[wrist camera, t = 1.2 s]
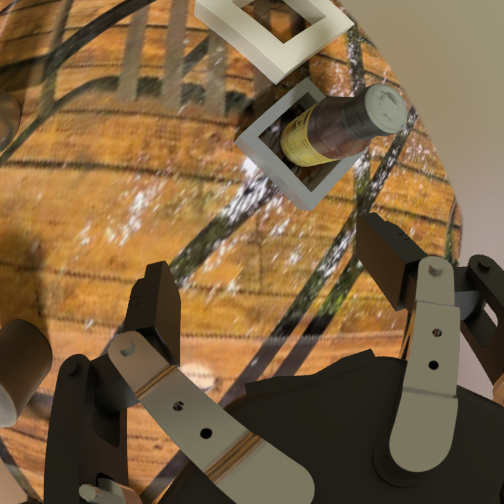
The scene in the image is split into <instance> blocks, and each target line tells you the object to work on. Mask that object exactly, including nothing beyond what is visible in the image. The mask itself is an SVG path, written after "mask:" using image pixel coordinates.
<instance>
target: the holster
mask: <svg viewBox="0 0 504 504" xmlns="http://www.w3.org/2000/svg"><path fill="white" fill-rule="evenodd" d="M324 98H327V97H326V96H325V95H324V94H323V93H322V92H321V91H320V90H319V89H318V88H317V87H316V86H315V85H314V84H313V83H312V82H311V81H310V80H309V79H308V78H307V77H306V78H305V79H304V80H302V81H301V82H300V83H299V84H298V85H296V86H295V87H294V88H293V89H292V90H290V91H289V92H288V93H287V94H286V95H284V96H283V97H282V98H281V99H280V100H279V101H277V102H276V103H275V104H274V105H273V106H272V107H271V108H269V109H268V110H267V111H266V112H265V113H264V114H263V115H262V116H260V117H259V118H258V119H257V120H256V121H255V122H254V123H253V124H252V125H250V126H249V127H248V128H247V129H246V130H245V131H244V132H243V133H242V134H241V135H240V136H239V137H238V138H237V139H236V141H235V142H234V144H235V145H236V146H237V147H238V148H239V149H240V150H241V151H242V152H243V153H244V154H245V155H246V156H247V157H248V158H249V159H250V160H251V161H252V162H253V163H254V164H255V165H256V166H257V167H258V168H259V169H260V170H261V171H262V172H263V173H264V174H265V175H266V176H267V177H268V178H269V179H270V180H271V181H272V182H273V183H274V184H275V185H276V186H277V187H278V188H279V189H280V190H281V191H282V192H283V193H284V194H285V195H286V196H287V197H288V198H289V199H290V201H291V202H292V203H293V204H294V205H295V206H296V207H297V208H298V209H299V210H309V211H312V209H313V208H314V207H315V206H316V205H317V204H318V203H319V202H320V201H321V200H322V198H323V197H324V196H325V195H326V194H327V193H328V192H329V191H330V190H331V189H332V187H333V186H334V185H335V184H336V183H337V182H338V181H339V180H340V179H341V178H342V176H343V175H344V174H345V173H346V172H347V171H348V170H349V169H350V168H351V166H352V165H353V164H354V163H355V162H356V161H357V160H358V159H359V158H360V156H361V155H362V154H363V153H364V152H365V151H366V150H367V149H368V148H369V146H367V148H366V149H365V150H364V151H363V152H361V153H358V154H357V155H354V156H348V157H346V158H344V159H340V160H335V161H331V162H328V163H327V164H326V166H325V167H324V168H323V169H322V170H321V171H320V172H319V173H318V174H317V175H316V176H315V177H314V178H313V179H312V180H311V181H310V182H309V184H308V185H307V186H305V185H304V184H303V183H302V182H301V181H300V180H299V179H298V178H297V177H296V176H295V175H294V174H293V172H292V171H291V170H290V169H289V168H288V167H287V166H286V165H285V164H284V163H283V162H282V161H281V160H280V159H279V158H278V157H277V156H276V155H275V154H274V153H273V152H272V151H271V150H270V149H269V148H268V147H267V146H266V145H265V144H264V143H263V142H262V141H261V140H260V139H259V138H258V136H259V135H260V134H261V133H262V132H263V131H264V130H265V129H266V128H268V127H269V126H270V125H271V124H272V123H273V122H274V121H275V120H276V119H277V118H278V117H280V116H281V115H282V114H283V113H284V112H285V111H286V110H287V109H288V108H290V107H291V106H292V105H293V104H294V103H295V102H296V101H297V102H298V103H299V104H300V105H301V106H302V107H303V108H304V109H305V110H308V109H309V108H311V107H312V106H314V105H315V104H316V103H318V102H319V101H321V100H322V99H324Z"/></svg>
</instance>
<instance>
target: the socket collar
mask: <svg viewBox="0 0 504 504" xmlns="http://www.w3.org/2000/svg"><path fill="white" fill-rule="evenodd" d="M253 1H255V0H196V1H195V10H194V16H195V17H196V18H197V19H199V20H200V21H201V22H203V23H204V24H205V25H207V26H208V27H209V28H210V29H212V30H213V31H214V32H216V33H217V34H218V35H219V36H221V37H222V38H223V39H224V40H225V41H227V42H228V43H229V44H230V45H232V46H233V47H234V48H235V49H236V50H237V51H239V52H240V53H241V54H242V55H243V56H244V57H246V58H247V59H248V60H249V61H250V62H251V63H252V64H254V65H255V66H256V67H257V68H258V69H259V70H260V71H261V72H262V73H263V74H265V75H266V76H267V77H268V78H269V79H270V80H271V81H272V82H273V83H274V84H275V85H277V84H278V83H279V82H280V81H281V80H283V79H284V78H285V77H286V76H288V75H289V74H290V73H291V72H293V71H294V70H295V69H297V68H298V67H299V66H300V65H302V64H303V63H304V62H306V61H307V60H308V59H310V58H311V57H312V56H314V55H315V54H316V53H318V52H319V51H321V50H322V49H323V48H325V47H326V46H327V45H329V44H330V43H332V42H333V41H335V40H336V39H337V38H339V37H340V36H342V35H343V34H344V33H345V32H346V31H347V30H349V29H350V28H351V27H352V26H353V25H354V23H353V22H352V21H351V20H350V19H349V18H348V17H347V16H346V15H345V14H344V13H342V12H341V11H340V10H339V9H338V8H337V7H336V6H335V5H334V4H332V3H331V2H330V1H329V0H283V1H284V2H285V3H286V4H288V5H289V6H290V7H291V8H292V9H294V10H295V11H296V12H297V13H298V14H300V15H301V16H302V17H303V18H304V19H305V20H307V21H308V22H309V23H310V24H311V25H312V26H310V27H309V28H307V29H305V30H304V31H302V32H301V33H299V34H298V35H296V36H295V37H293V38H292V39H290V40H289V41H287V42H286V43H284V44H283V43H282V42H280V41H279V40H278V39H277V38H276V37H275V36H274V35H272V34H271V33H270V32H269V31H268V30H267V29H265V28H264V27H263V26H262V25H260V24H259V23H258V22H257V21H256V20H254V19H253V18H252V17H251V16H249V15H248V14H247V13H245V12H244V11H243V10H241V8H242V7H244V6H246V5H247V4H249V3H251V2H253Z"/></svg>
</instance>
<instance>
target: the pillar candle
mask: <svg viewBox="0 0 504 504" xmlns="http://www.w3.org/2000/svg"><path fill="white" fill-rule="evenodd" d="M51 366H52V352H51V348H50V346H49V344H48V342H47V340H46V338H45V337H44V335H43V334H42V333H41V332H40V331H39V330H38V329H37V328H36V327H35V326H34V325H32V324H30V323H28V322H26V321H24V320H13V321H11V322H9V323H8V324H7V325H5V326H4V327H3V328H2V329H0V427H10V426H12V425H14V424H15V422H16V421H17V419H18V417H19V416H20V414H21V413H22V411H23V409H24V408H25V406H26V405H27V403H28V402H29V400H30V399H31V397H32V396H33V394H34V393H35V391H36V390H37V388H38V387H39V385H40V384H41V382H42V381H43V380H44V378H45V377H46V376H47V374H48V373H49V371H50V369H51Z"/></svg>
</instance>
